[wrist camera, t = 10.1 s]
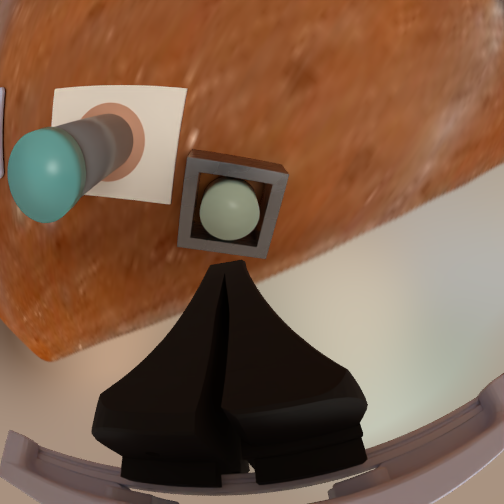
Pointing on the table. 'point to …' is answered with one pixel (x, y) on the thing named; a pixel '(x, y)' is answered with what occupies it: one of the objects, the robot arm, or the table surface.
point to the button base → (237, 167)
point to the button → (229, 208)
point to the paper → (144, 134)
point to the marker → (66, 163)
